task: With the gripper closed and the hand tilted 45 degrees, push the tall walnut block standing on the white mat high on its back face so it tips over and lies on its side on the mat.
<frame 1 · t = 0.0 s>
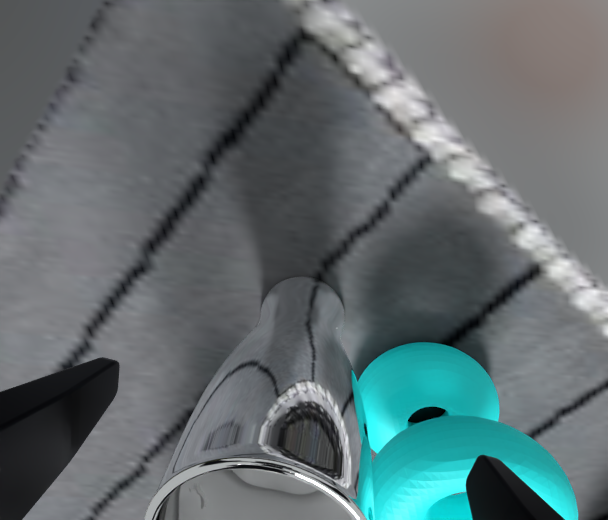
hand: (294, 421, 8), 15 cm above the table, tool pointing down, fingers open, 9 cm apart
donuts: (417, 391, 24), on the table
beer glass: (303, 314, 23), on the table
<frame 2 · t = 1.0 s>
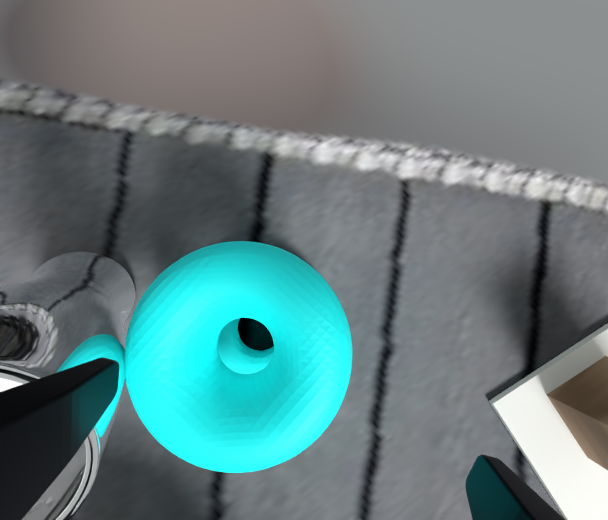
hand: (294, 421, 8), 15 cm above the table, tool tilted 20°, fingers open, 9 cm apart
donuts: (264, 322, 23), on the table
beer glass: (85, 294, 21), point 1 cm above the table
walnut block: (596, 406, 22), resting on white mat
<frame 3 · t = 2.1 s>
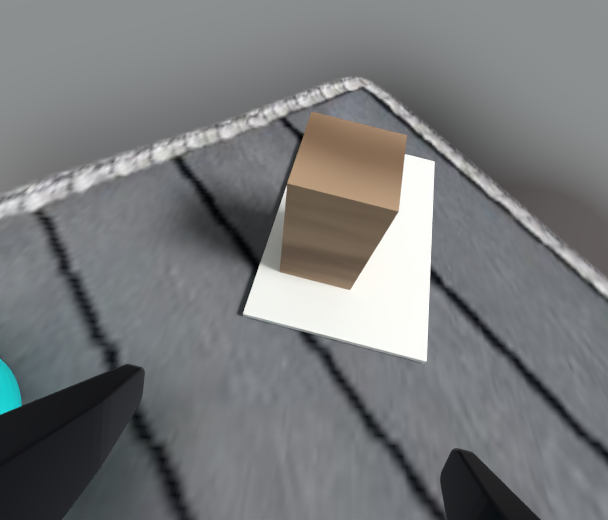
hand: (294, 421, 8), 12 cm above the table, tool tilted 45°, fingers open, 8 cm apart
white mat: (353, 228, 25), on the table
walnut block: (321, 250, 23), resting on white mat
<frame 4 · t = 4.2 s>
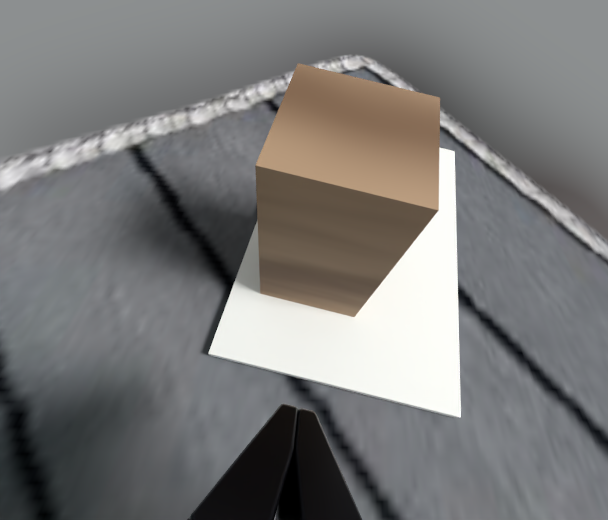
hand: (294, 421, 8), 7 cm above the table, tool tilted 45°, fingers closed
white mat: (357, 233, 19), on the table
walnut block: (316, 264, 17), resting on white mat
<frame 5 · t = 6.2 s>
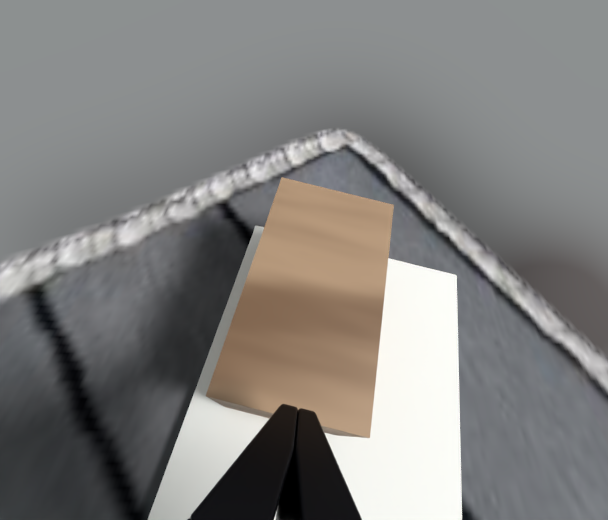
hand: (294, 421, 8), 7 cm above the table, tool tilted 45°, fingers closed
white mat: (325, 420, 14), on the table
walnut block: (283, 419, 11), point 3 cm above the table, tilted 90°, touching white mat
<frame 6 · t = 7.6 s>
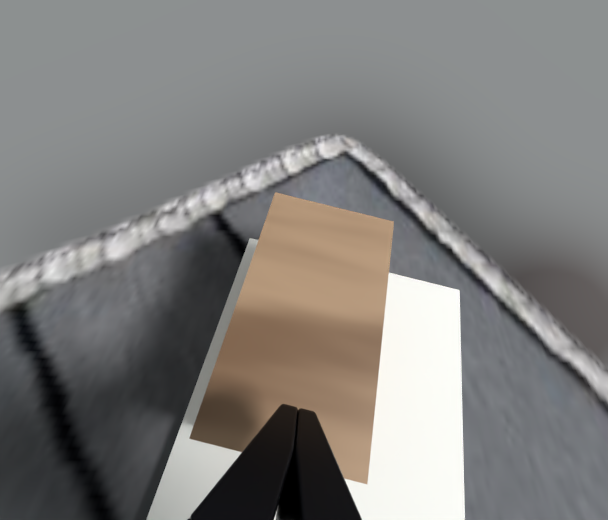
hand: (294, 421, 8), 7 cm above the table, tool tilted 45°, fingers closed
white mat: (322, 447, 14), on the table
walnut block: (275, 454, 11), point 3 cm above the table, tilted 90°, touching white mat
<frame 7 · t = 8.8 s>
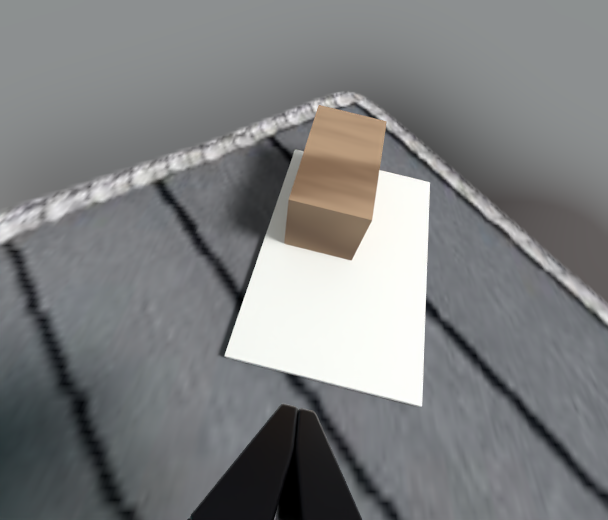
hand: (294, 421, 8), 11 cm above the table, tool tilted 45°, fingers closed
white mat: (344, 256, 23), on the table
walnut block: (323, 233, 20), point 3 cm above the table, tilted 90°, touching white mat
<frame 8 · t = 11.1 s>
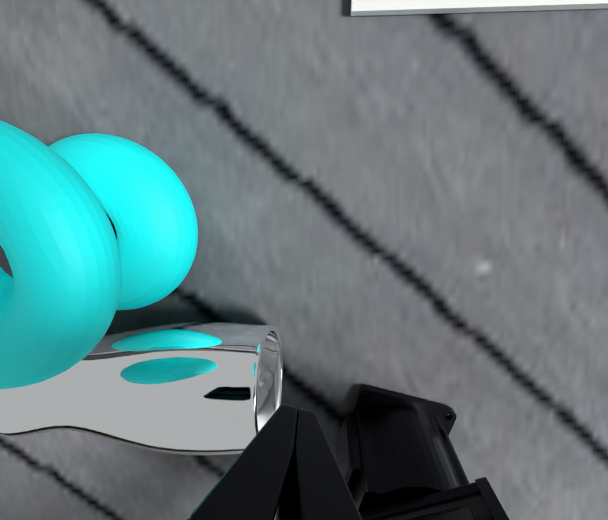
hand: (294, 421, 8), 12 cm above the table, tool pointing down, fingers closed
donuts: (128, 222, 20), on the table
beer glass: (31, 379, 19), point 3 cm above the table
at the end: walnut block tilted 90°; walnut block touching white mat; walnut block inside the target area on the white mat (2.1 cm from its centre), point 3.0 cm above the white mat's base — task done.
